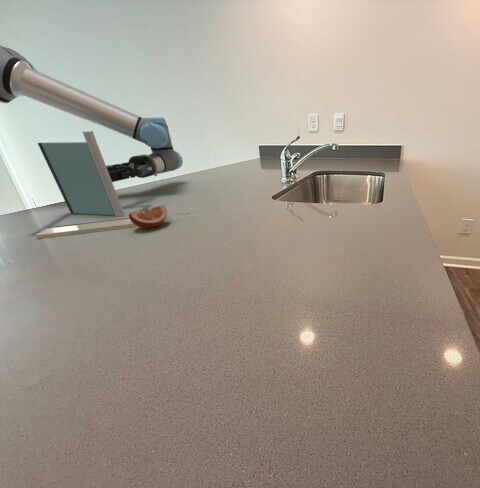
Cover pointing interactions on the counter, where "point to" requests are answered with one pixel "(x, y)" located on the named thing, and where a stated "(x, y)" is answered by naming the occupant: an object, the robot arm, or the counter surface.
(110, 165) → the robot arm
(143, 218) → the fruit slice
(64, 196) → the shower door
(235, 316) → the counter surface
